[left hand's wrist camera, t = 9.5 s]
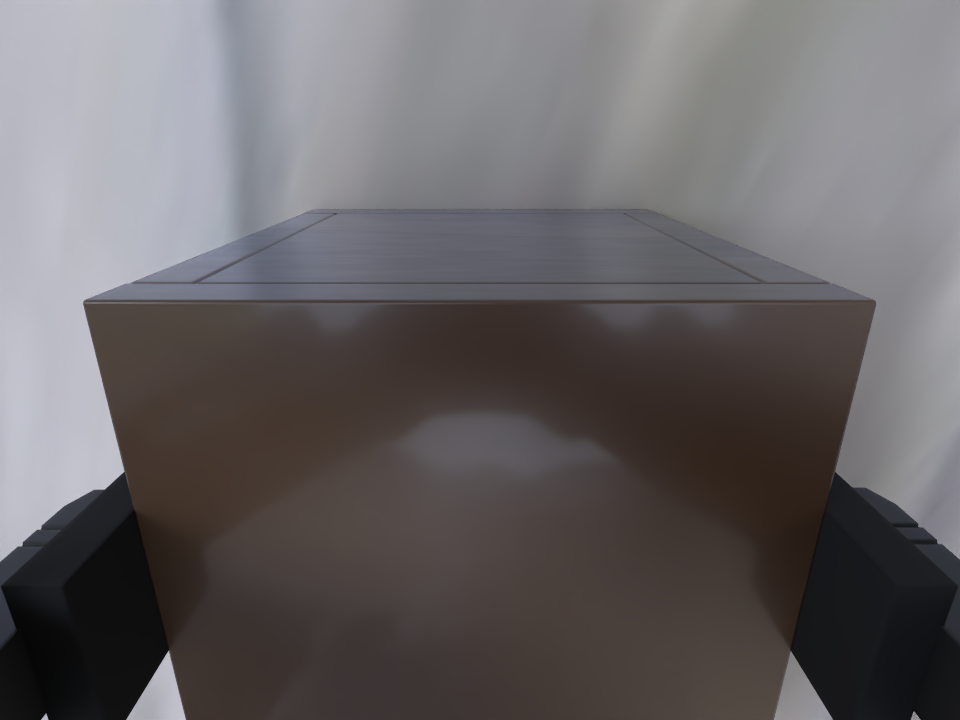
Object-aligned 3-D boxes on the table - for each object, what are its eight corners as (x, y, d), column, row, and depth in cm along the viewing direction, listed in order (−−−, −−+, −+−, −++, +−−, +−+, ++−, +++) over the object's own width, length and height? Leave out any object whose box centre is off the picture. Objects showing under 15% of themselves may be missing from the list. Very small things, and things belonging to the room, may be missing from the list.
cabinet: (601, 687, 24) (687, 1074, 14) (358, 687, 24) (272, 1073, 14) (648, 209, 17) (878, 300, 7) (311, 209, 17) (80, 300, 7)
